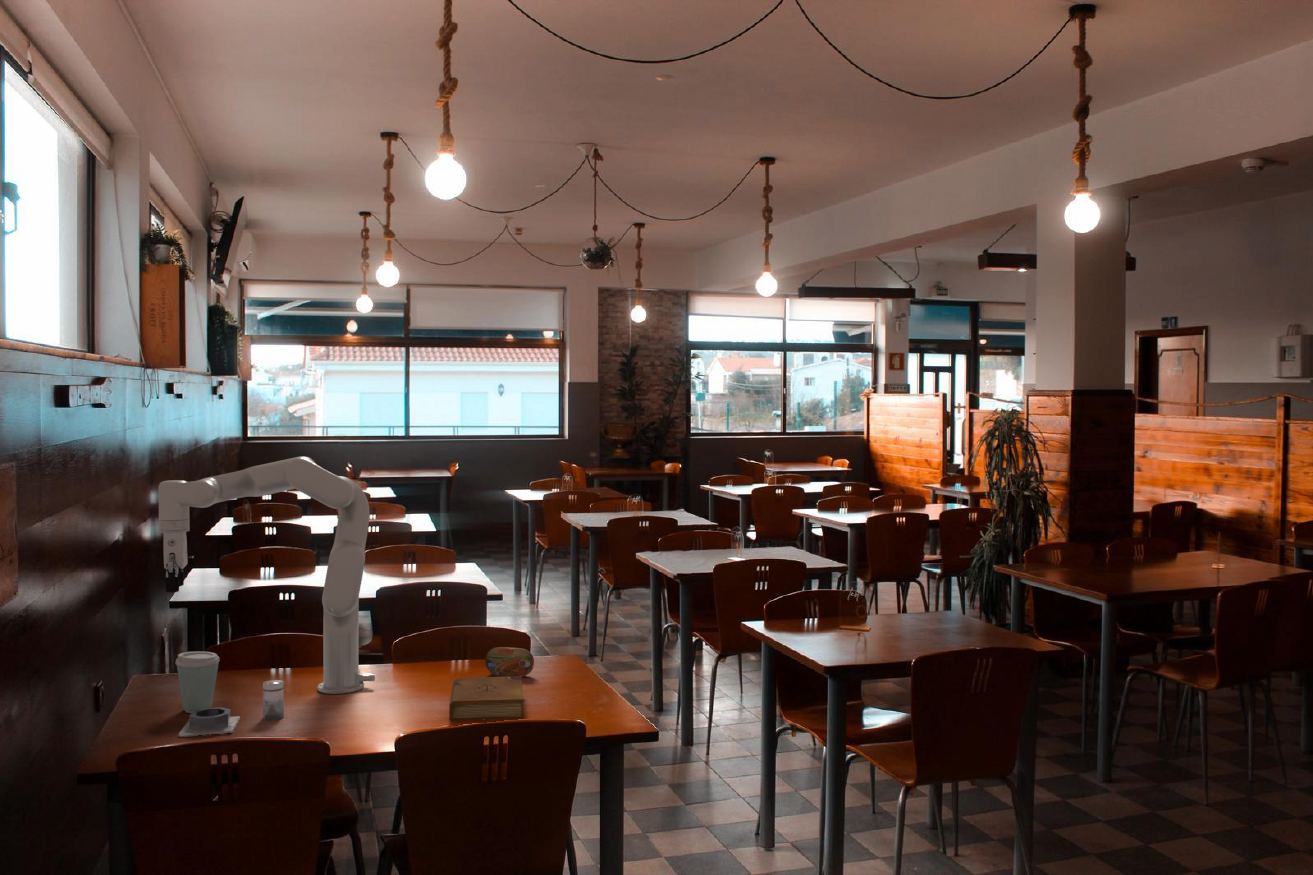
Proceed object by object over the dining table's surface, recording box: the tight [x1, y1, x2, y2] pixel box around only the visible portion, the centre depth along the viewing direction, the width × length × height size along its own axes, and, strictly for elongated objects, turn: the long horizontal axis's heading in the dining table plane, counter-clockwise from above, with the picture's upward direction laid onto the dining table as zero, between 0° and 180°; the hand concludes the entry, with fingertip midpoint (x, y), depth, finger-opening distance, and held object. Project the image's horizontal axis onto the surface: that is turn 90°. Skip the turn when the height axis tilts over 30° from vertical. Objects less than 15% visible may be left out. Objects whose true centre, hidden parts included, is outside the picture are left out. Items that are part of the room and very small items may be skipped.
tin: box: [485, 646, 535, 678], centre depth 309 cm, size 15×3×8 cm, turn 73°
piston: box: [262, 679, 285, 721], centre depth 266 cm, size 5×5×9 cm
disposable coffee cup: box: [175, 650, 221, 714], centre depth 272 cm, size 11×11×15 cm
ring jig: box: [178, 706, 241, 738], centre depth 257 cm, size 12×12×4 cm
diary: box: [448, 676, 524, 722], centre depth 276 cm, size 23×19×6 cm
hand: (174, 588), depth 281 cm, fingers open, 9 cm apart
